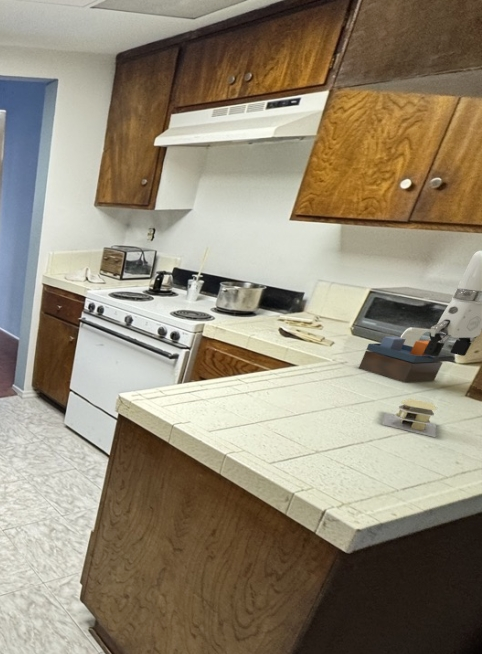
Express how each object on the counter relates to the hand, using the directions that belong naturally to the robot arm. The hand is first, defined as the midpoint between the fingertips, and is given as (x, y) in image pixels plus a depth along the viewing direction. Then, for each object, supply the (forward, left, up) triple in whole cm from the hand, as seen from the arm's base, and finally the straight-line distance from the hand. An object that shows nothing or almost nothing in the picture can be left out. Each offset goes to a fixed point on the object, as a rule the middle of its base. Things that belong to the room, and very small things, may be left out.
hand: (443, 354), depth 137 cm
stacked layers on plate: (-23, +40, -10) cm, 47 cm away
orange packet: (+6, -2, -3) cm, 7 cm away
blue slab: (+7, 0, -3) cm, 8 cm away
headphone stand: (+21, -20, -10) cm, 31 cm away
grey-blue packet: (+12, +2, -3) cm, 12 cm away
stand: (+9, 0, -10) cm, 13 cm away
